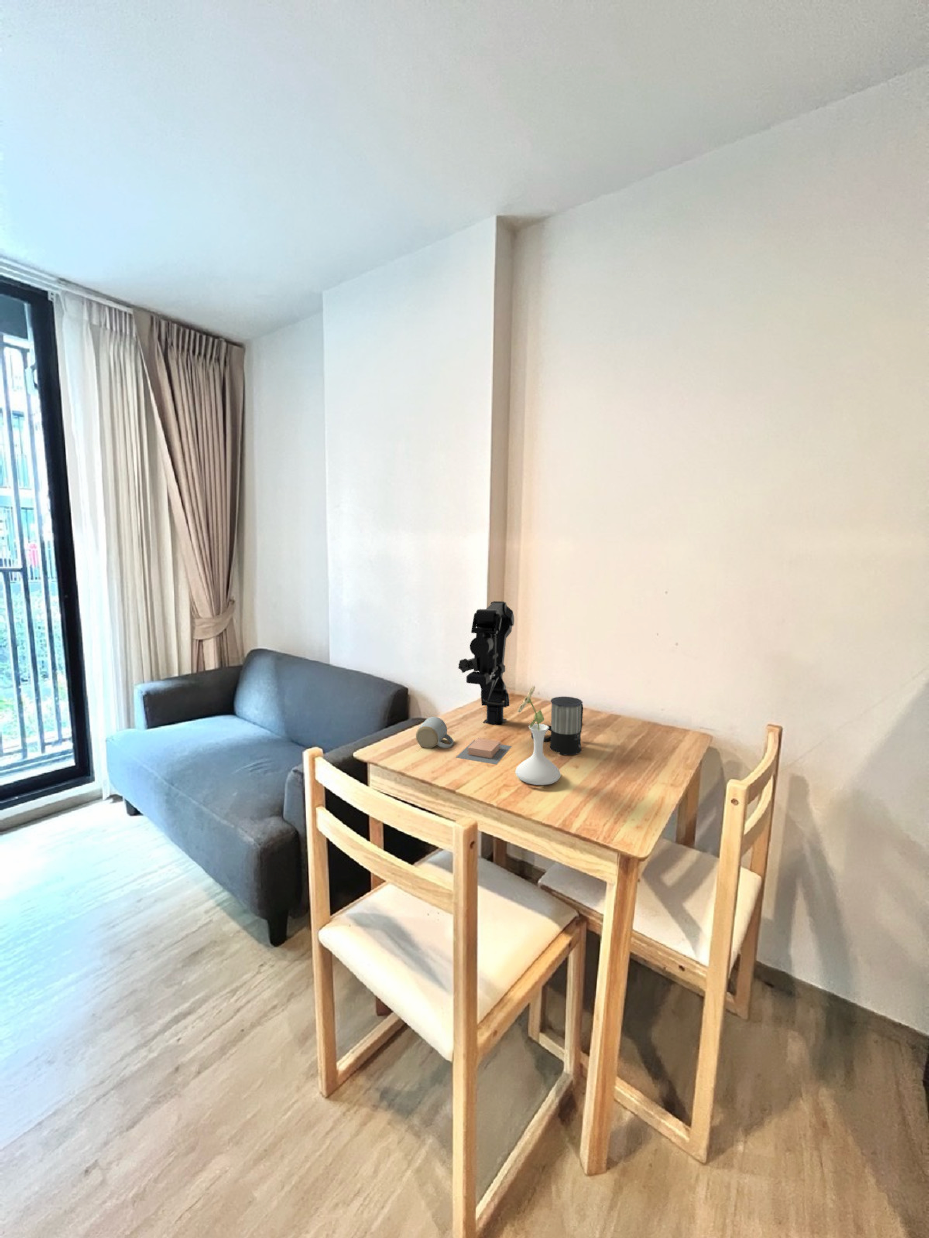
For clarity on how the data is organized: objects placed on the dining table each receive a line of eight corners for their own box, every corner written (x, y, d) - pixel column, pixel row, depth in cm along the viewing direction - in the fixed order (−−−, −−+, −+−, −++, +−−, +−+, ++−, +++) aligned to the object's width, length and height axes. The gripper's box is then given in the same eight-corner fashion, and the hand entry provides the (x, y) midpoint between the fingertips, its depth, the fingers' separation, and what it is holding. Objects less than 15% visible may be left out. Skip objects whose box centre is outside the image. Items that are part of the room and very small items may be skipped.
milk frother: (579, 758, 138) (581, 706, 136) (524, 750, 143) (525, 701, 141) (584, 740, 151) (586, 693, 150) (533, 734, 157) (534, 688, 155)
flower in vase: (530, 765, 133) (532, 675, 130) (568, 777, 126) (571, 682, 122) (502, 782, 123) (503, 685, 120) (542, 797, 116) (544, 693, 112)
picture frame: (478, 737, 146) (467, 747, 138) (500, 741, 143) (491, 751, 136) (478, 744, 146) (467, 754, 139) (500, 748, 143) (491, 758, 136)
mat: (474, 741, 150) (474, 740, 150) (511, 747, 145) (511, 746, 145) (455, 758, 137) (455, 757, 137) (496, 766, 132) (496, 764, 132)
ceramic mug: (414, 748, 145) (414, 723, 143) (423, 738, 152) (424, 714, 151) (448, 753, 142) (449, 727, 141) (456, 742, 150) (457, 718, 149)
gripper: (473, 643, 162) (473, 689, 164) (450, 653, 145) (450, 705, 147) (505, 646, 157) (505, 693, 159) (485, 656, 140) (485, 709, 142)
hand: (486, 699), depth 152 cm, fingers closed
